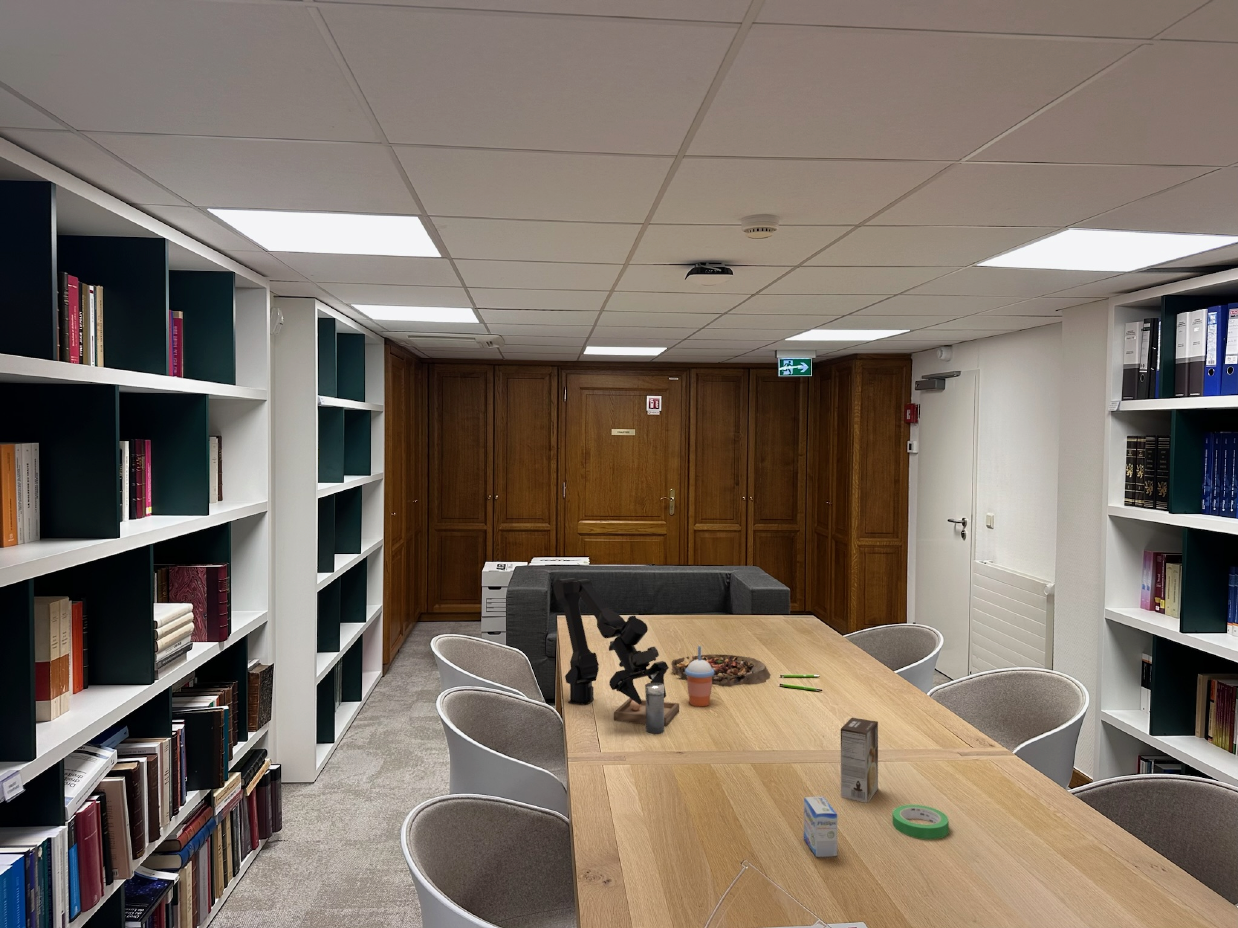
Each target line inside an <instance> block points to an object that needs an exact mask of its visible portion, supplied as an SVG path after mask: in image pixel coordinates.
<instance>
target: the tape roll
mask: <svg viewBox="0 0 1238 928" xmlns="http://www.w3.org/2000/svg"><path fill="white" fill-rule="evenodd" d="M910 819H911V820H912V819H916V820H924V821H926V822H927V821H928V822H931V823H929V824H926V823H918V822H917V823H916V822H914V821H913V822H912V821H911V820H910ZM949 821H950V820H949V818H948V815H946V814H945V813H944V812H943V811H941V810H939V809H936V808H933V807H930V806H926V805H922V804H904V805H901V806H897V807H896V808H894V809H893V811H892V826H893V827H894V829H895V830H896V831H898V832H900V833H901V834H902V835H906V836H909V837H912V838H915V839H922V840H937V839H938V840H939V839H942V838H945V837H947V836H948V834H949V827H950V826H949V824H950V823H949Z"/></svg>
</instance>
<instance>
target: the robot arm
mask: <svg viewBox="0 0 1238 928" xmlns="http://www.w3.org/2000/svg"><path fill="white" fill-rule="evenodd" d="M553 593H554V595H555V599H556V601H557V602H558V603H559V604H560V606H561V607H562V608H563V611H564V617H565V621H566V625H567V630H568V635H569V639H570V644H571V648H572V655H571V658H570V662H569V665H570V668H569V670H568V672H567V673H565V676H564V679H565V682H566V684H569V694H570V695H569V697H570V698H569V699H568V702H567V703H568V704H575V705H583V706H584V705H585V706H586V705H589V704H590V703H591V702H593V700H595V697H594V686H593V682H596V680H597V678H598V674H599V670H600V669H599V668H600V667H599V666H600V664H599V661H598V657H597V653H596V652H592V651H591V650H590V649H589V645H588V640H587V637H586V631H585V627H584V622H583V619H582V614H581V609H580V600H581V599H582V601H583V603H584V604H585V605H586V606H587V608H588V609H589V611H590V612H591V613H592V615H593V616H594V618H595V619H596V627H597V629H598V632H599V633H600V635H601V636H602V637H603V638H604V639H612V638H614V639H613V640H610V641H609V646H608V651H609V652H612V651H614V652H615V654H616V656H617V657H618V659H619V661H620V662H619V663H618V665H619V667H620V668H624V669H622V670H618V671H617V670H616V671H615V673H614V674H613V676H612V677H611V678H610V679H609V686H610V688H611V690H612V691H616V692H620V693H621V694H622V695H625V696H626V697H628V699H629V698H631V699H632V700H634V701H635V702H636V703H638V704H639V705H640V704H641V703H642V701H641V696H640V694H639V692H638V691H637V689H636V687H635V685H634V680H637V679H641V678H645V677H647V678H648V679H649V680H650V683H662V684H664V699H665V698H666V697H667V693H666V685H665V680H664V679H665V678H664V677H665V674H666V673H667V671H668V669H670V668H669V665H668V664H667V662H666V661H664V660H661V661H657V658H658V657H659V655H660V654H659V651H658V649H657V648H656V646H650V647H648V648H647V649H646V650H644V651H641V650H637V648H636V646H637V645H638V644H639V643H640V641H641V640H642V639H643V638H644V636H645V635H646V634H647V632H648V625H647V624H646V622H645V621H644V620H641V619H640V618H637V617H636V615H630V616H628V618H627V620H625V619H624V618H623V617H622V616H621V615H620V614H619V613H618V612H616V611H614V610H612V609H611V608H610V607H609V606H608V605H607V604H606V602H605V601H604V600H603V598H602V597H601V596H600V594H599V593H598V592H597V590H596V589H595V587H594V586H593V584H592V581H591V580H590V579H587V578H585V579H577V578H576V577H569V578H561V579H557V580H556V581H555V583H554V584H553ZM653 661H654V663H652V664H650V663H651V662H653ZM650 665H651V666H650ZM649 666H650V667H649ZM647 667H649V668H647Z"/></svg>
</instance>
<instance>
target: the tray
mask: <svg viewBox="0 0 1238 928" xmlns="http://www.w3.org/2000/svg"><path fill="white" fill-rule="evenodd" d="M631 701H632V699H631V698H629V697H628V699H627V700H625V701H624V703H622V704H621V705H620V706H619V707H618V708H616V710H614V711H613V720H614V722H615V721H616V722H625V723H634V724H641V725H642V724H643V725H646V699H643V698H642V699H641V701H642V703H641V707H640V709H638V710H633V709H631V707H630V703H631ZM679 713H680V703H678V702H669V701H664V727H667V726H668V725H669V724H670V723H671V722H672V720H674V718H676V716H677V715H678V714H679Z"/></svg>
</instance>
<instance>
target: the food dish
mask: <svg viewBox="0 0 1238 928" xmlns="http://www.w3.org/2000/svg"><path fill="white" fill-rule="evenodd" d="M691 657H692V658H691V660H690V656H686V657H681V658H676V659H673V660H672V661H671V662H670V663H671V671H672V673H673V674H675V675H676V676H678V677H679V680H683V681H686V682H687V679H688V678H687V675H686V674H685V670H686V668H688V665H689V664H690V663H691V662H692V661H694V660H698V655H692V656H691ZM685 658H686V659H687V660H690V661H688V662H686V663H683V662H685ZM701 660H705V661H707V662H708V663H709V664H710V666H711V668H712V669H713V670H714V675H713V676H712V685H714V686H719V687H734V686H743V685H759V684H765V683H766V682H767V680H770V678H771V675H772V674H771V673H770V672H769V670H768V668H767V666H766V664H765V663H764V662H762V661H761V660H760V659H759V660H758V659H755V658H753V657H750V656H742V655H734V654H719V653H717V654H713V653H711V654H701Z"/></svg>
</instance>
